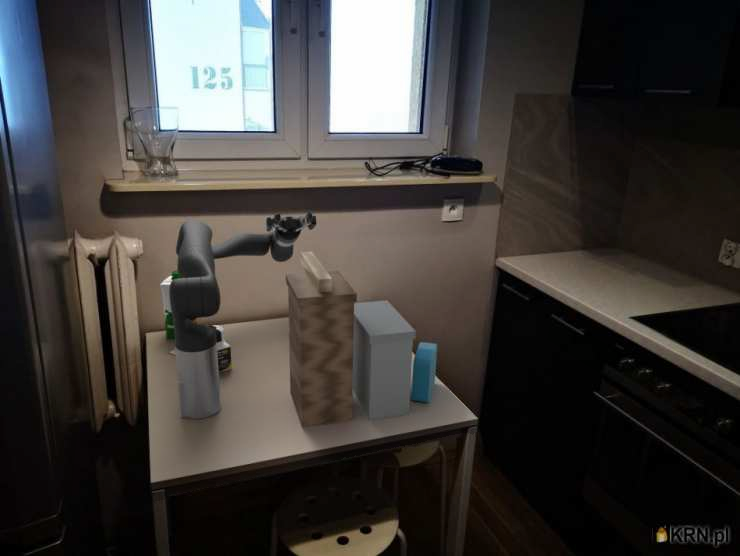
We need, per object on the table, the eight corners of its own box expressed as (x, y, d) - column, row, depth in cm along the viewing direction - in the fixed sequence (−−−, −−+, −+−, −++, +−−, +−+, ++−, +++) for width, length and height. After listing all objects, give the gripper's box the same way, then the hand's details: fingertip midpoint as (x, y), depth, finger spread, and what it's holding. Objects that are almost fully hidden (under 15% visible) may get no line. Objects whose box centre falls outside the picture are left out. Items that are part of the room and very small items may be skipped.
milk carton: (200, 329, 180) (195, 270, 174) (190, 341, 172) (185, 279, 165) (173, 328, 180) (167, 269, 174) (162, 340, 172) (155, 278, 166)
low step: (367, 420, 133) (370, 335, 126) (345, 379, 151) (346, 303, 144) (410, 414, 136) (415, 331, 129) (384, 375, 155) (387, 300, 148)
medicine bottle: (207, 376, 151) (204, 335, 147) (197, 366, 156) (193, 326, 153) (232, 368, 156) (230, 329, 152) (220, 359, 161) (218, 320, 157)
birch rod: (318, 292, 123) (318, 279, 122) (300, 263, 143) (300, 252, 142) (331, 291, 124) (332, 278, 123) (311, 262, 143) (311, 251, 143)
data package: (418, 380, 152) (420, 339, 149) (434, 382, 151) (437, 342, 148) (410, 402, 141) (413, 359, 138) (428, 405, 140) (431, 362, 137)
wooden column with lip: (299, 428, 129) (297, 298, 119) (288, 392, 144) (285, 274, 134) (354, 420, 133) (356, 293, 123) (337, 386, 148) (338, 271, 138)
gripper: (311, 242, 173) (320, 227, 158) (264, 245, 169) (269, 229, 154) (308, 219, 174) (318, 202, 159) (262, 221, 170) (267, 203, 155)
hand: (294, 215), depth 156 cm, fingers open, 8 cm apart
